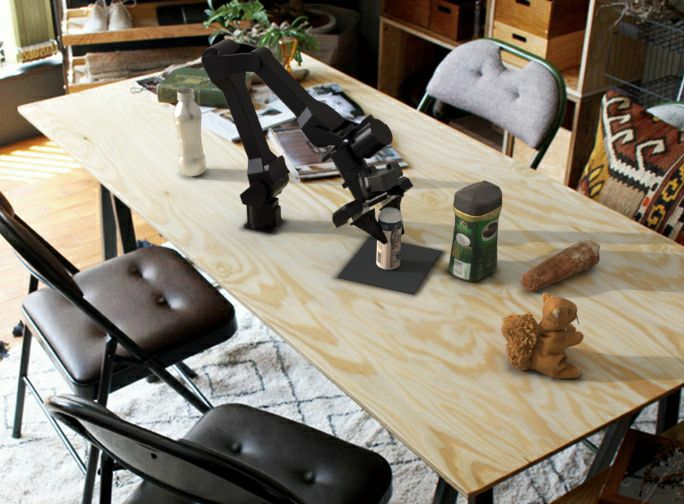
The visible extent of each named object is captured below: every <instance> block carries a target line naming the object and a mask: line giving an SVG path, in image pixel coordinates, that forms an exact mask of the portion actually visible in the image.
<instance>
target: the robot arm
mask: <svg viewBox="0 0 684 504" xmlns="http://www.w3.org/2000/svg"><path fill="white" fill-rule="evenodd" d="M200 60H201V61H200V62H201V65H202V67H203V70H204V71H205V73H206V75H207V77H208V79H209V81H210V82H211V83H212V84H213V85H214V86H215V87H216V88H217V89H219V90H220V91H221V93H222V95H223V97H224V100H225V102H226V105H227V107H228V110H229V113H230V115H231V118H232V120H233V123H234V126H235V128H236V131H237V134H238V136H239V139H240V141H241V144H242V147H243V150H244V152H245V155H246V157H247V169H246V170H247V171H246V176H247V180H248V185H249V187H247V188H246V189H245V190H244V191H243V192H241V193H240V194H239V198H240V201H241V204H242V205H244V206H245V207H246V208H245V209H246V210H245V211H246V222H245V223H244V224H243V229H246V230H251V231H252V230H253V231H256V232H261V233H266V234H271V233H273V232H274V231H275V230H276V229H277V228H278V227H279V226H280V224H282V222H283V221H284V219H283V218H282V206H281V205H280V199H279V197H278V196H279V195H281V194H282V192H283V190H284V189H286V187H288V184H289V182H290V175H289V174H290V173H291V171H290V169H289V168H288V166H287V164H286V158H285V157H284V155H282V154H280V155H277V154H276V153H274V152H273V151H272V149H271V148H270V145H269V143H268V140H267V137H266V134H265V131H264V129H263V126H262V125H261V121H260V119H259V116H258V114H257V111H256V109H255V105H254V102H253V100H252V98H251V97H252V96H251V94H250V92H249V89H248V86H247V83H246V81H247V80H246V78H247V73H254V74H255V75H256V76H257V77H258V79H260V81H262V83H263V84H264V85H265V86H266V87H267V88H268V89H269V90H270V91H271V92H272V93H273V94H274V95H275V96H276V97H277V99H279V100H280V101H281V102H282V104H283V105H285V106H286V107H287V109H288V110H289V111H291V113H292V114H293V115H294V116H295V118H296V119H297V122H298V126H299V129H300V131H301V133H303V135H304V136H305V138H306V139H307V140H308V142H309V143H310V144H311V145H312V146H313V147H315V148H317V149H323V153H322V156H321V162H322V163H326V162H329V161H332V163H333V165H334V166H335V168H336V171H337V172H338V173H339V175H340V177H341V179H342V181H343V183H342V184H341V187H342V189H343V190H345V189H348V191H349V192H350V194H351V196H352V198H353V200H351V201H349V202H348V203H345V204H343V205H342V206H341V207H340V208H339V209H337V210H335V211H333V213H332V215H331V220H332V221H331V222H332V223H333V225H334V226H335V228H336V229H338V228H340V227H343V226H344V225H347V223H349V226H350V227H352V226H355V227H356V228H358V229H360V230H361V231H363V232H365V233H366V234H368V235H369V236H372V237H374V238H375V239H376V240H378V241H379V242H381V243H382V244H384V245H385V244H387V243H388V241H387V238H386V236H385V234H384V232H383V230H382V229H381V227H380V225H379V223H378V219H377V218H376V208H375V207H374V206H376V205H378V204H381V206H382V207H380V208H379V212H381V210H382V209H384V208H395V209H398V210H399V211H400V213H401V214H402V211H401V209H402V208H401V203H402V199H403V198H404V197H405V194H406V193H407V192H408V191H409V190H410V189H412V188H414V184H413V182H412V181H411V179H410V177H407V176H405V175H404V171H403V169H402V166H401V165H400V164H399V162H398V161H397V160H394V161H391V162H388V163H386V164H385V168H384V169H382V170H378V169H377V167H376V166H375V165H374V164H372V165H369V163H368V162H367V160H370V159H372V158H374V157H375V156H376V155H377V154H379V153H380V152H381V151H383V150H385V149H386V148H387V147H388V146H390V145H391V144H392V143H393V139H394V137H393V132H392V130H391V128H390V126H389V125H388V124H387V123H385V122H384V121H383V120H381V119H379V118H375V117H374V116H373V114H371V113H370V114H368V115H367V116H365V117H364V118H363V119H362V120H361V121H360V122H356V121H354V120H351V119H349V118H346V117H343V115H342V114H341V113H340V112H338V111H337V110H335V109H334V108H333V107H332V106H330V105H329V104H328V103H325V102H322V101H320V100H318V99H316V98H315V97H313V96H312V95H311V94H310V92H309V91H308V90H307V89H306V88H304V86H303V85H302V84H301V83H300V82H299V81H298V80H297V79H296V78H295V77H294V76H293V75H292V74H291V73H290V72H289V71H288V70H287V69H286V68H285V67H284V65H282V63H280V61H279V60H278V59H277V58H276V57H275V56H274V55H273V51H271V49H270V48H268V47H267V46H261V45H260V46H257V45H255V44H252V43H250V42H237V41H235V40H233V39H231V38H225V39H222V40H221V41H219V42H216V43H215V44H213V45H211V46H210V47H208V48H206V49H205V50H204V51H203V52H202V56H201V57H200ZM345 140H347V141H345ZM372 207H373V208H372ZM370 208H371V209H370ZM349 220H351V222H349ZM405 233H406V231H405V227H404V222H403V220H402V234H401V237H402V236H404V235H405Z"/></svg>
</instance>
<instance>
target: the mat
mask: <svg viewBox="0 0 684 504" xmlns="http://www.w3.org/2000/svg"><path fill="white" fill-rule="evenodd" d="M442 252H443V251H442V250H441V249H436V248H431V247H426V246H421V245H416V244H412V243H407V242H402V241H401V252H400V265H399V266H398V267H397V268H395V269H392V270H385V269H382V268H380V267H379V266H378V265H377V264H376V261H377V240H376V239H375V238H374V237H372V236H371V235H369V236H368V237H367V238H366V240H365V241H364V243H363V244H362V245H361V246H360V248H359V249H358V250H357V251H356V252H355V253H354V255H353V256H352V258H350V260H349V261H348V262H347V264H346V265H345V266H344V267H343V269H342V270H341V271H340V273H339V274H338V275H337V276H336V278H337V279H341V280H345V281H349V282H354V283H359V284H364V285H368V286H372V287H378V288H382V289H386V290H391V291H395V292H400V293H404V294H409V295H414V294H415V293H416V291H417V290H418V288H419V287H420V285H421V284H422V282H423V281H424V279H425V278H426V276H428V273H429V272H430V270H431V269H432V268H433V266H434V265H435V263H436V261H437V259H438V258H439V257H440V255H441V254H442Z"/></svg>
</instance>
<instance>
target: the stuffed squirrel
mask: <svg viewBox="0 0 684 504" xmlns="http://www.w3.org/2000/svg"><path fill="white" fill-rule="evenodd" d="M542 302H543V305H542V309H541V310H542V311H541V314H542V317H541V320H540V321H539V323H538V321H537V320H536V318H535V317H534V315H533V313H531V312H528V311H527V312H525V313H523V314H522V313H521V314H517V313H514V312H510V313H508V314H507V315H506V316H504V317H500V319H501V321H502V323H501V324H500V333H501V335H502V336H503V337H504V339H505V341H506V343H505V346H506V348H505V353H506V354H507V355H506V356H507V360H508V362H509V363H510V365H511V367H513V368H514V369H516V370H517V371H518V372H525V371H527V370H528V369H530V370H535V371H537V372H538V373H540V374H542V375H546V376H548V377H551V378H554V379H577V378H579V377H580V376H581V374H582V373H581V372H582V371H581V369H580V368H579V367H578V366H576V365H575V364H572V363H569V362H568V358H569V349H568V348H571V347H575V346H578V345H579V344H581V343H582V342H583V340H584V337H585V336H584V334H583V333H582V332H581V331H579V330H577V327H576V326H575V325H574V324H572V323H573V322H574V321H575V320H576V321H577V325H580V324H581V323H580V321H579V316H578V306H577V304H576V303H575V302H573V301H572V300H570V299H567V298H565V297H561V296H555V295H552V296H551V293H549V292H543V294H542Z"/></svg>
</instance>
